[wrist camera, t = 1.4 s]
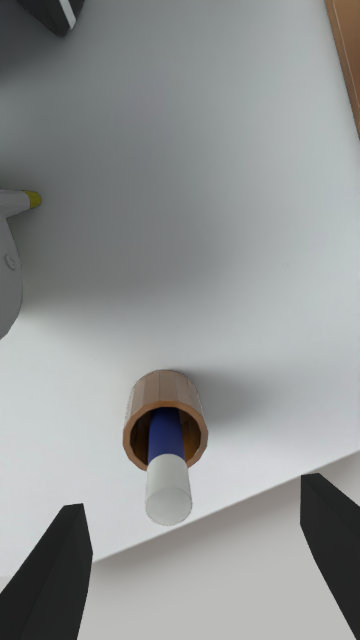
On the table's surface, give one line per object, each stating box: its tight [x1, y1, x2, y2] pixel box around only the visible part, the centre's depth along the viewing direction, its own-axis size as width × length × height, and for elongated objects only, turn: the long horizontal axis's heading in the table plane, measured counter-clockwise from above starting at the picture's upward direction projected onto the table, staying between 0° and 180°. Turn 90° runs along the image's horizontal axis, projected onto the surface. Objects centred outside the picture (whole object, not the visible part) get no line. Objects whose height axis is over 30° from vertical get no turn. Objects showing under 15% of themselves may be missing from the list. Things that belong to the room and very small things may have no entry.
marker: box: [145, 407, 192, 526], centre depth 16 cm, size 2×2×8 cm
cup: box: [123, 370, 208, 471], centre depth 18 cm, size 5×5×4 cm
